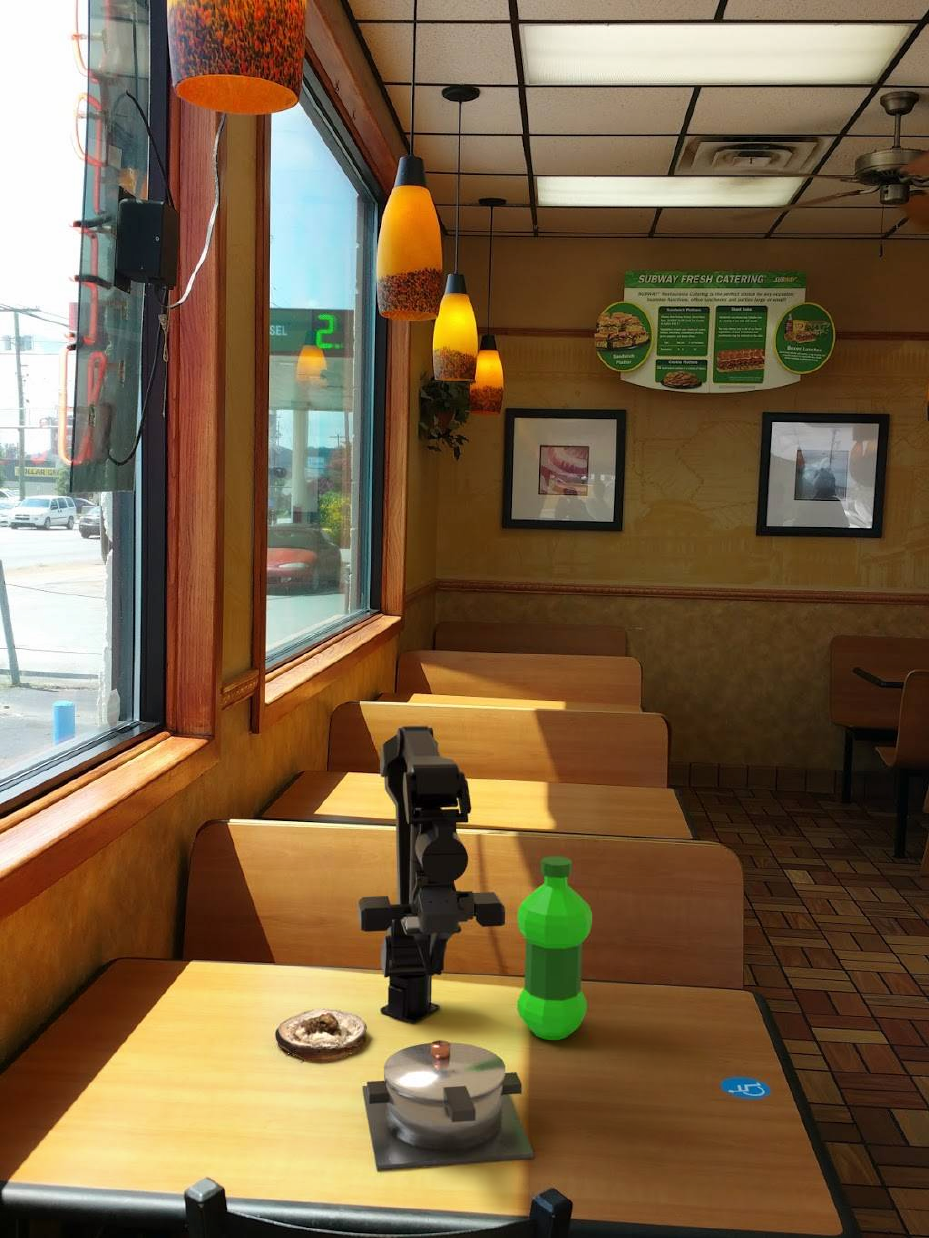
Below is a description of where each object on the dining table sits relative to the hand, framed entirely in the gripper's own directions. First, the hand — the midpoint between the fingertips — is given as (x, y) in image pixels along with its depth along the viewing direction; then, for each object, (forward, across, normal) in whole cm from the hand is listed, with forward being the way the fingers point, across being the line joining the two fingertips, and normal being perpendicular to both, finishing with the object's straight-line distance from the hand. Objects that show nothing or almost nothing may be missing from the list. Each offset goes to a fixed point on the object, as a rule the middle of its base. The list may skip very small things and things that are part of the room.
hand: (429, 974), depth 151 cm
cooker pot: (+13, 0, -13) cm, 19 cm away
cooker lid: (+7, 0, -16) cm, 18 cm away
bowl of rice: (+14, -14, +10) cm, 22 cm away
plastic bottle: (+13, +19, +9) cm, 25 cm away
